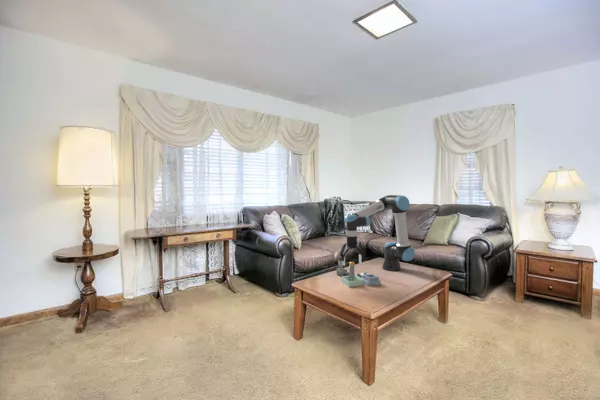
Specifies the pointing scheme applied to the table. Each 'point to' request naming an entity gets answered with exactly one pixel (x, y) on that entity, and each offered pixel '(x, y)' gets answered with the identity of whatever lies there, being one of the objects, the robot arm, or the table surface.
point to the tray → (349, 283)
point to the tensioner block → (369, 279)
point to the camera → (342, 270)
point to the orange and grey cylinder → (351, 271)
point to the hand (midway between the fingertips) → (352, 264)
